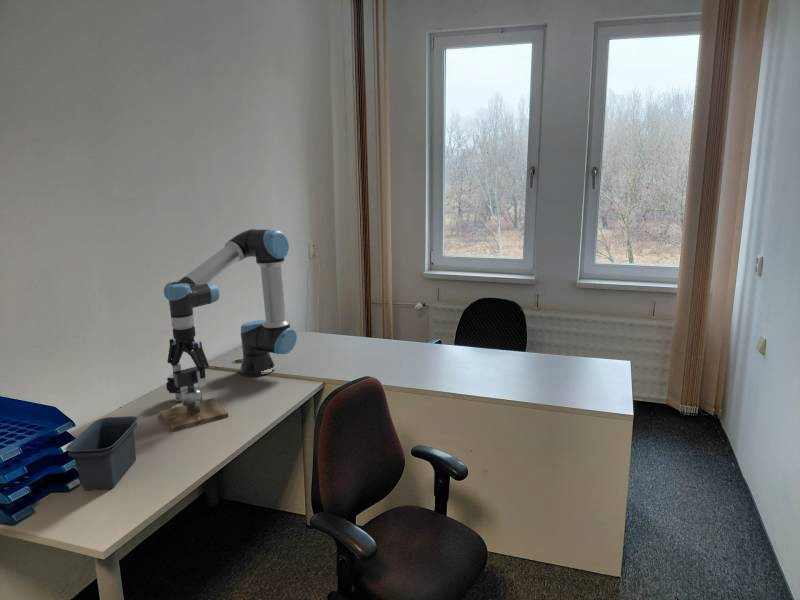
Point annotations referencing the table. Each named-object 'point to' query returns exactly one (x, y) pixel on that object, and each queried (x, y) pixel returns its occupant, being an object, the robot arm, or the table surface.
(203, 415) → the base
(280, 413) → the table surface
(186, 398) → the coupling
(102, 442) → the storage bin
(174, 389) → the pneumatic valve
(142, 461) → the table surface
